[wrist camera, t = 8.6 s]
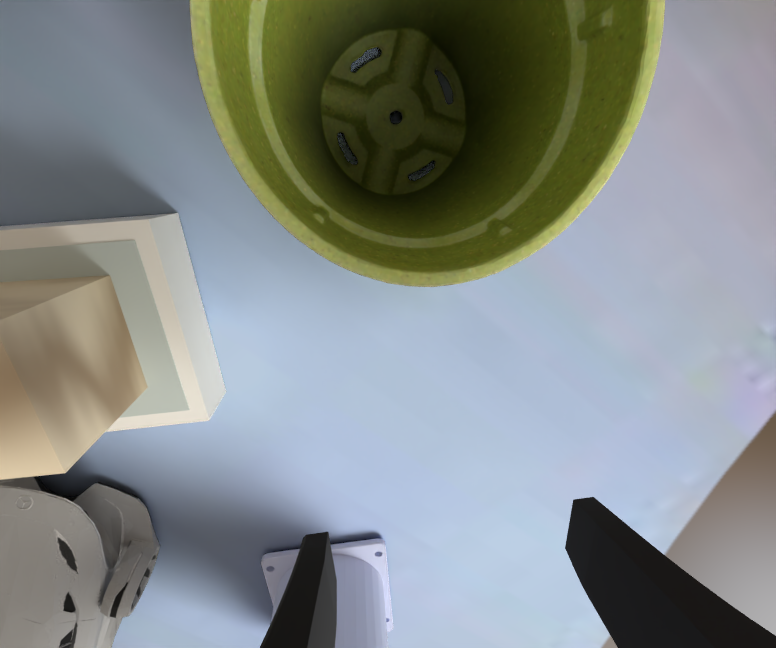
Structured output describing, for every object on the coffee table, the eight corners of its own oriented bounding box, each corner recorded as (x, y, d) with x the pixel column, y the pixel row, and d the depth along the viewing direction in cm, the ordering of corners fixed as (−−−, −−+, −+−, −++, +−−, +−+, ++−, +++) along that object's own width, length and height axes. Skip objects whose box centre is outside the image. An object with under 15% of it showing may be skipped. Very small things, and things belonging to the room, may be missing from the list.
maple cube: (147, 387, 16) (65, 473, 11) (25, 397, 16) (-111, 490, 11) (109, 275, 14) (-8, 323, 9) (-31, 284, 14) (-223, 338, 9)
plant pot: (361, 273, 18) (370, 354, 10) (226, 74, 14) (64, -58, 6) (535, 160, 16) (711, 146, 8) (433, -86, 13) (567, -504, 5)
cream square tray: (226, 391, 19) (209, 421, 17) (45, 410, 19) (1, 443, 16) (177, 212, 16) (148, 219, 13) (-45, 229, 15) (-117, 239, 13)
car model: (-49, 684, 26) (-134, 792, 22) (-44, 417, 19) (-173, 495, 14) (118, 699, 29) (74, 799, 24) (182, 468, 21) (136, 550, 17)
